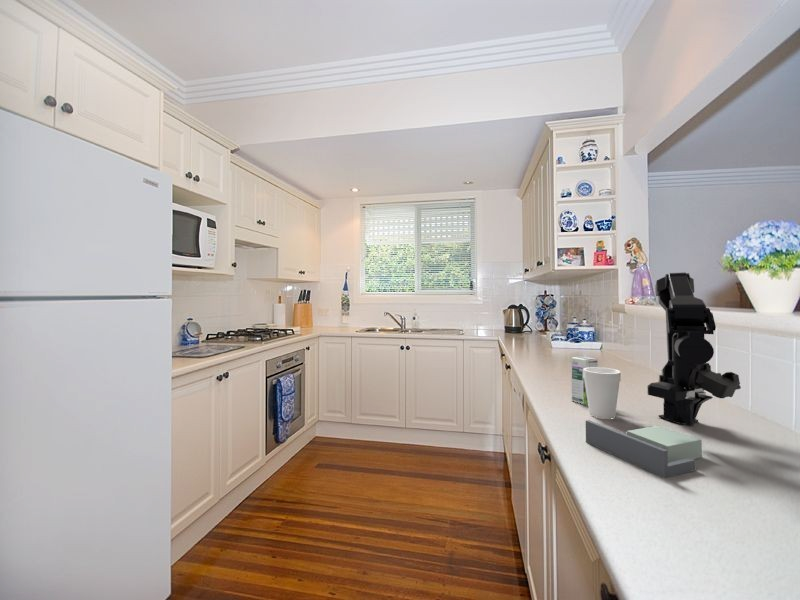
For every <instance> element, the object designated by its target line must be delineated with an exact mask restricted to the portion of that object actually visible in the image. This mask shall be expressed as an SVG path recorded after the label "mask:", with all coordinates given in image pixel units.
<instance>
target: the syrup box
mask: <svg viewBox="0 0 800 600" xmlns="http://www.w3.org/2000/svg"><path fill="white" fill-rule="evenodd" d="M598 361H599V359H598V358H593V357H587V356H586V357H585V356H573V357H571V358H570V362H571V363H570V365H571V366H570V368H571V370H570V371H571V373H570V374H571V380H570V381H571V402H573V401H574V403H577V402H578V403H577V404H580V403H581V404H580V405H583V406H584V405H585V406H588V400H587V394H586V387H585V381H584V378H583V369H584V368H590V367H598ZM598 368H599V367H598Z"/></svg>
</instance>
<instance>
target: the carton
mask: <svg viewBox="0 0 800 600" xmlns="http://www.w3.org/2000/svg"><path fill="white" fill-rule="evenodd" d="M626 435H629V436H631V437H634V438H637V439H639V440H642V441H644V442H647V443H650V444H652V445H655V446H657V447H660V448H663V449H665V450H668V463H669V462H674V461H678V460H683V459H687V458H691V459H693V460H695V459H700V458H702V457H703V446H702V445H703V444H702V443H703V442H702V441H703V439H701V438H698V437H696V436H692V435H689V434H686V433H684V432H680V431H677V430H673V429H670V428H668V427H666V426H665V427H664V426H663V425H653V426H648V427H642V428H636V429H632V430H631V429H630V430H626ZM699 457H700V458H699ZM694 458H695V459H694Z"/></svg>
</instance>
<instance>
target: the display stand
mask: <svg viewBox="0 0 800 600" xmlns="http://www.w3.org/2000/svg"><path fill="white" fill-rule="evenodd" d="M585 443H587V444H589V445H591V446H594V447H596V448H598V449H600V450H603V451H605V452H607V453H609V454H611V455H614V456H615V457H618V458H620V459H622V460H624V461H626V462H629V463H631V464H633V465H635V466H637V467H639V468H642V469H644V470H646V471H648V472H650V473H653V474H654V475H657V476H659V477H662V478H664V479H665V478H669V477H670V478H671V477H674V476H678V475H681V474H686V473H690V472H694V471H696V459H691V458H687V459H683V460H678V461H674V462H669V463H668V450H665V449H663V448H660V447H657V446H655V445H652V444H650V443H647V442H644V441H642V440H639V439H637V438H634V437H631V436H629V435H627V433H623V432H621V431H618V430H617V429H615V428H610V427H608V426H605V425H603V424H600V423H598V422H594V421H593V420H590V419H587V420H585Z"/></svg>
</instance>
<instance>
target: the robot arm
mask: <svg viewBox="0 0 800 600" xmlns="http://www.w3.org/2000/svg"><path fill="white" fill-rule="evenodd" d="M694 281H695V280H694V278H693V277H691V275H690V273H689V272H688V273H687V272H669V273H666V274H665V275H664V276H663V277H661V278H659V279H657V280H656V282H655V285H654V286H655V297H657V298H658V304H659V305H660V306H661V308H662V309H663V310H664V311H665V324H666V325H665V326H666V329H665V330H666V345H667V347H666V349H667V362H666V363H665V365H664V366H663V368H662V369H661V374H659V375H658V381H657V382H651V383H649V384H648V385H647V395H648V396H651V397H656V398H659V399H663V405H662V406H663V414H659V415H658V418H660V419H663V420H667V421H670V422H673V423H676V424H680V425H686V426H688V427H693V426H694V425H695V423H699V419H698V418H697V416H698V413H699V411H700V409H701V407H702V405H703V404H704V403H705V402H707V401H709V400H712V399H713V396H714V397H715V398H717V399H725V398H728V397H729V398H732V397H733V396H734V395H735V392H736V391H737V390H740V389H741V385H740V384H741V382H740V376H739V374H737V373H734V372H732V371H728V372H727V371H726V372H725V373H723V374H722V373H721V372H714V371H712V366H711V364H710V363H709V362H710V361H711V360H712V358H713V357H714V353H715V351H714V350H715V349H714V347H713V345H712V344H711V342H710V341H709V340H707V339H706V338H705V335H714V332H715V331H716V327H717V326H716V325H717V324H716V322H715V318H714V315H713V312H711V309H710V307H707V305H706V303H705V302H704V300H703V299H701V298H698V297H696V296H695V295H694V294H695V282H694ZM705 391H706V392H705ZM707 392H708V393H710V394H711V395H712V396H711V395H707Z"/></svg>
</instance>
